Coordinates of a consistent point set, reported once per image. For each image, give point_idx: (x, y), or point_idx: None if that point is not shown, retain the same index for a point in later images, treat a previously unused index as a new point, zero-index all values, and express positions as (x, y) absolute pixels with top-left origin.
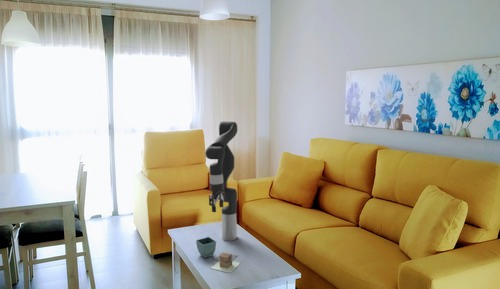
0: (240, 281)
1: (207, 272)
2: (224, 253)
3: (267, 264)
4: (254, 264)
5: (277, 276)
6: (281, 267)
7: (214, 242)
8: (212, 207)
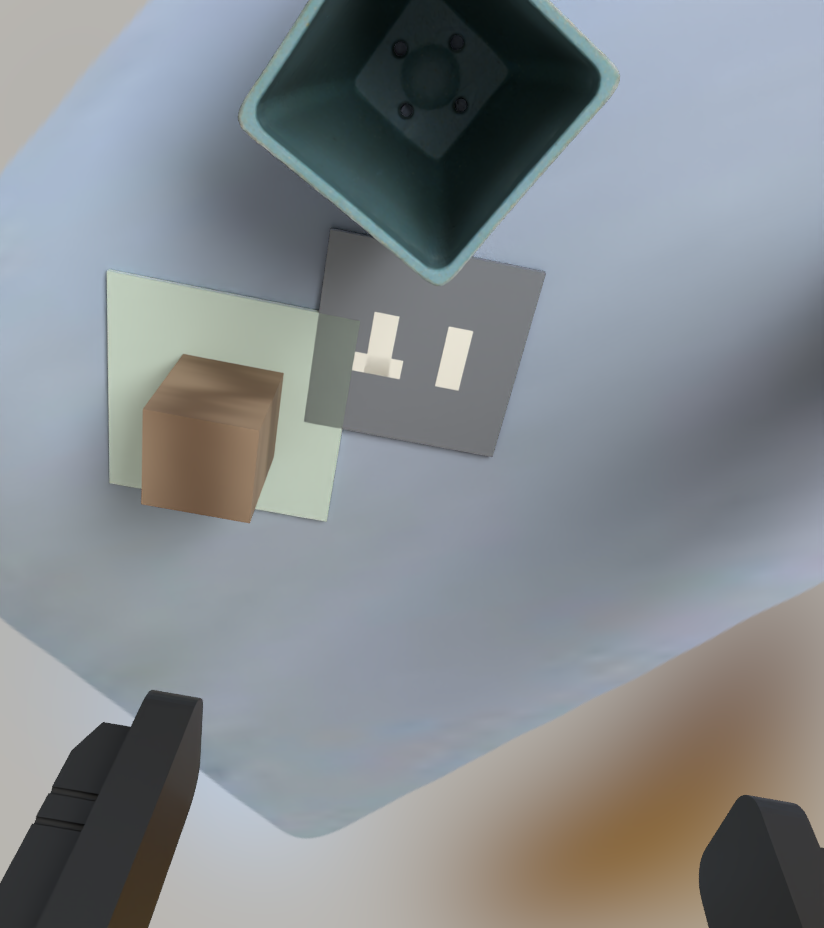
0: (20, 584)
1: (17, 265)
2: (230, 444)
3: (375, 699)
4: (346, 620)
5: (210, 771)
6: (353, 777)
7: (411, 265)
8: (9, 910)
